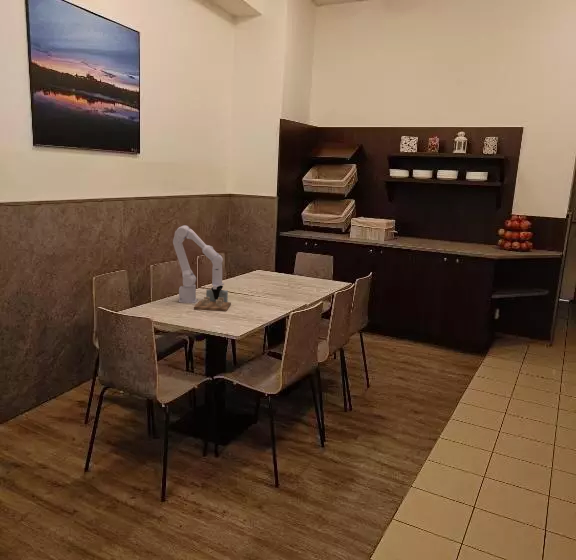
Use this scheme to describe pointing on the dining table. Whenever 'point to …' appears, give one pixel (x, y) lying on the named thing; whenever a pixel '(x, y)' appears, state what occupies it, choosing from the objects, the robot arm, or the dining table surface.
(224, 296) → the grey block
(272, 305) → the dining table surface
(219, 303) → the cabinet base
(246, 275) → the dining table surface
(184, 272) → the robot arm
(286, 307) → the dining table surface
